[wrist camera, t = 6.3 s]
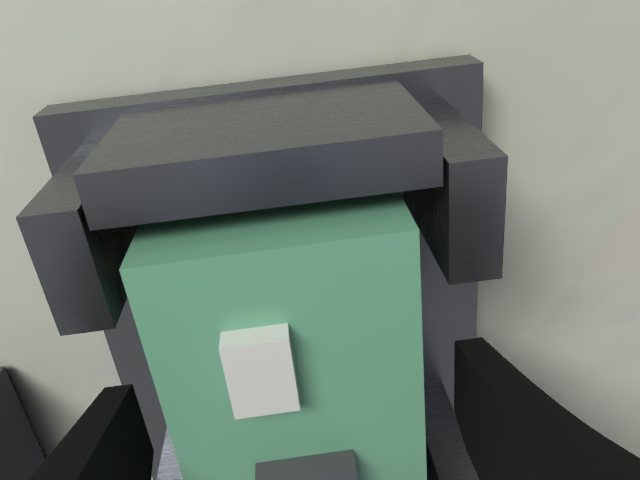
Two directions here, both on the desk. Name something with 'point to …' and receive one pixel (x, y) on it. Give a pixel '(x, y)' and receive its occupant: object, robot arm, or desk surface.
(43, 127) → the chassis
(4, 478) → the dark grey rectangular block
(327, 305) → the board
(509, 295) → the desk surface
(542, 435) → the robot arm
